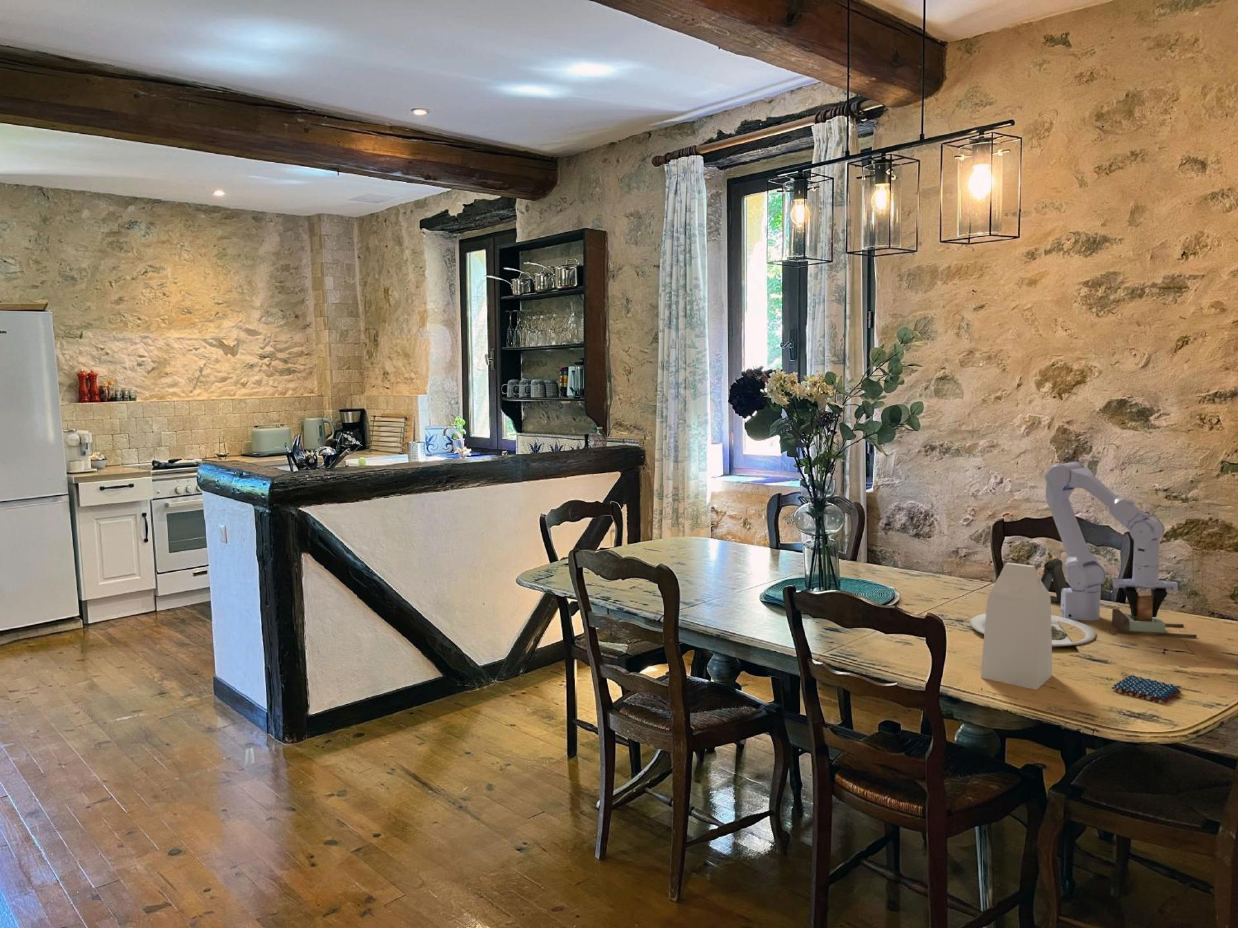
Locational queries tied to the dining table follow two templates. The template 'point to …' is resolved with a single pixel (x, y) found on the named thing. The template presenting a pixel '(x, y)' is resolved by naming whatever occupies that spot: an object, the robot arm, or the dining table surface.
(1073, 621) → the plated food
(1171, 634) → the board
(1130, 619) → the socket block
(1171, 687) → the woven mat
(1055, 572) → the door stopper
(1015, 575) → the milk
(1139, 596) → the dowel
